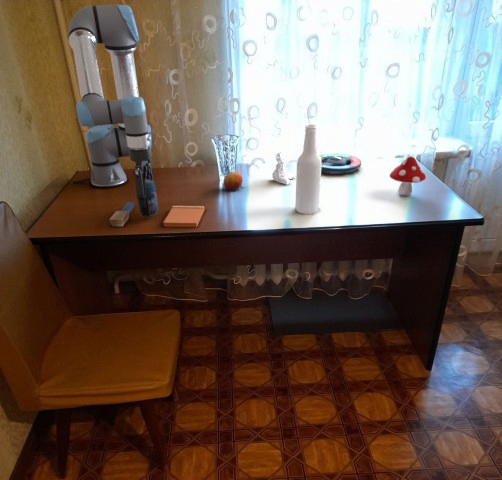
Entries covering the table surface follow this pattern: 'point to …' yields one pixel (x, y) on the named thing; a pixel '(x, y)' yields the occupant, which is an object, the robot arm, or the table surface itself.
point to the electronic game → (339, 163)
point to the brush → (121, 215)
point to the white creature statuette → (281, 170)
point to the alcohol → (308, 174)
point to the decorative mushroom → (407, 175)
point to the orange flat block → (184, 216)
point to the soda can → (150, 197)
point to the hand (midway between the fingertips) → (149, 211)
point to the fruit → (233, 181)
